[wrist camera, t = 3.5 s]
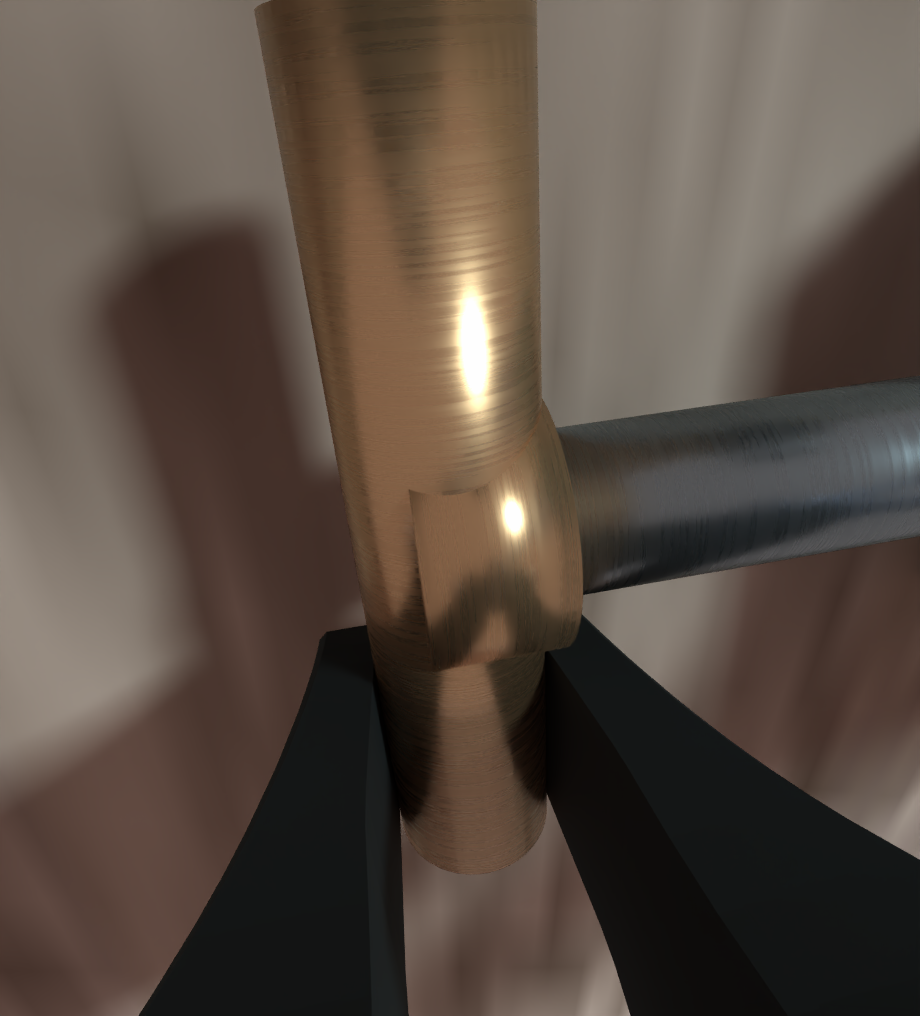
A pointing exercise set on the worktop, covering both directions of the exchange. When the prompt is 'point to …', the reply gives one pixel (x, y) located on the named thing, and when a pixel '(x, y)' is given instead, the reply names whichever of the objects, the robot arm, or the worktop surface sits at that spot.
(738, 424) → the t-handle rod
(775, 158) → the worktop surface
